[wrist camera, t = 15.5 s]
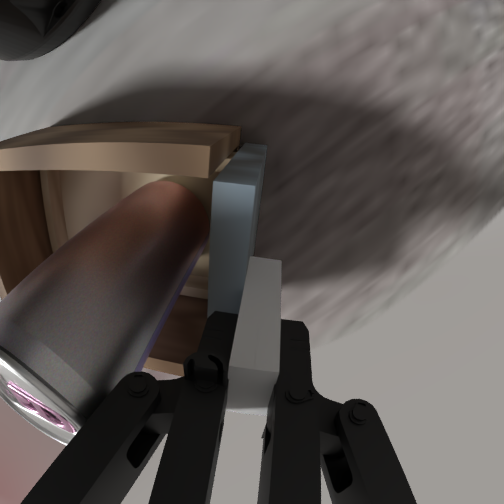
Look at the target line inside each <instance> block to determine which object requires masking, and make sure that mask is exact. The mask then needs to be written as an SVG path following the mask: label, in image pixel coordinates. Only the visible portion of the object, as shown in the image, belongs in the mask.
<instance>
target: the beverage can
mask: <svg viewBox="0 0 504 504" xmlns="http://www.w3.org/2000/svg"><path fill="white" fill-rule="evenodd" d="M209 231H210V228H209V220H208V216H207V213H206V211H205V208H204V207H203V205H202V203H201V202H200V201H199V199H198V198H197V197H196V196H195V195H194V194H193V193H192V192H191V191H189V190H188V189H187V188H185V187H183V186H181V185H179V184H177V183H174V182H170V181H154V182H150V183H147V184H145V185H143V186H142V187H140V188H139V189H137V190H136V191H134V192H133V193H131V194H130V195H129V196H127V197H126V198H124V199H123V200H121V201H120V202H119V203H117V204H116V205H114V206H113V207H112V208H110V209H109V210H107V211H106V212H105V213H103V214H102V215H101V216H99V217H98V218H97V219H95V220H94V221H93V222H91V223H90V224H89V225H87V226H86V227H85V228H84V229H82V230H81V231H80V232H78V233H77V234H76V235H75V236H73V237H72V238H71V239H70V240H68V241H67V242H66V243H65V244H64V245H62V246H61V247H60V248H59V249H58V250H56V251H55V252H54V253H53V254H52V255H50V256H49V257H48V258H47V259H46V260H45V261H43V262H42V263H41V264H40V265H39V266H38V267H37V268H36V269H34V270H33V271H32V272H31V273H30V274H29V275H28V276H27V277H26V278H24V279H23V280H22V281H21V282H20V283H19V284H18V285H17V286H16V287H15V288H14V289H13V290H12V291H11V292H10V293H9V294H8V295H7V296H6V297H5V298H4V299H3V300H2V301H1V302H0V397H1V398H2V399H3V400H4V401H5V402H6V403H7V404H8V405H9V406H10V407H11V408H12V409H13V410H14V411H15V412H17V413H18V414H19V415H20V416H21V417H23V418H24V419H25V420H26V421H28V422H29V423H30V424H32V425H33V426H34V427H36V428H37V429H38V430H40V431H41V432H43V433H45V434H46V435H48V436H49V437H51V438H53V439H54V440H56V441H58V442H60V443H62V444H64V445H66V446H67V444H68V443H69V442H70V441H71V439H72V438H73V437H74V436H75V435H76V433H77V432H78V431H79V430H80V428H81V427H82V426H83V425H84V424H85V422H86V421H87V420H88V419H89V417H90V416H91V415H92V414H93V413H94V411H95V410H96V409H97V408H98V407H99V405H100V404H101V403H102V402H103V400H104V399H105V398H106V397H107V396H108V394H109V393H110V392H111V391H112V390H113V388H114V387H115V386H116V385H117V384H118V382H119V381H120V380H121V379H122V378H123V377H124V376H126V375H127V374H129V373H132V372H141V371H142V368H143V366H144V364H145V362H146V360H147V358H148V356H149V354H150V352H151V350H152V348H153V346H154V344H155V342H156V340H157V338H158V336H159V334H160V332H161V330H162V328H163V326H164V324H165V322H166V320H167V318H168V316H169V314H170V312H171V310H172V308H173V306H174V304H175V303H176V301H177V299H178V297H179V295H180V293H181V291H182V289H183V287H184V285H185V283H186V282H187V280H188V278H189V276H190V274H191V272H192V270H193V268H194V267H195V265H196V263H197V261H198V259H199V257H200V255H201V254H202V252H203V250H204V248H205V246H206V244H207V242H208V238H209Z"/></svg>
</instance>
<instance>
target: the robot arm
mask: <svg viewBox="0 0 504 504" xmlns="http://www.w3.org/2000/svg"><path fill="white" fill-rule="evenodd" d="M100 1H101V0H0V60H5V61H18V60H31V59H34V58H37V57H40V56H42V55H44V54H46V53H48V52H50V51H51V50H53V49H54V48H56V47H57V46H59V45H60V44H61V43H62V42H64V41H65V40H66V39H67V38H68V37H69V36H70V35H71V34H73V33H74V32H75V31H76V30H77V29H78V28H79V27H80V25H81V24H82V23H83V22H84V21H85V20H86V19H87V18H88V16H89V15H90V14H91V13H92V12H93V10H94V9H95V8H96V6H97V5H98V3H99V2H100ZM281 277H282V260H276V259H268V258H261V257H254V256H250V259H249V264H248V269H247V274H246V280H245V285H244V290H243V295H242V300H241V305H240V310H239V314H233V313H227V312H220V311H214V312H213V313H212V314H211V315H210V316H209V317H208V318H207V321H206V324H205V327H204V331H203V334H202V338H201V340H200V343H199V347H198V350H197V352H195V353H192V354H191V355H190V356H188V357H187V358H186V359H185V361H184V363H183V369H184V376H183V377H180V378H178V379H173V380H158V381H157V380H156V379H155V377H153V376H152V375H150V374H149V373H145V372H132V373H129V374H127V375H126V376H124V377H123V378H122V379H121V380H120V381H119V382H118V384H117V385H116V386H115V387H114V388H113V390H112V391H111V392H110V393H109V394H108V396H107V397H106V398H105V399H104V400H103V402H102V403H101V404H100V405H99V407H98V408H97V409H96V410H95V411H94V413H93V414H92V415H91V416H90V417H89V419H88V420H87V421H86V422H85V424H84V425H83V426H82V427H81V428H80V430H79V431H78V432H77V433H76V435H75V436H74V437H73V438H72V439H71V441H70V442H69V443H68V444H67V446H66V447H65V448H64V449H63V451H62V452H61V453H60V454H59V456H58V457H57V458H56V459H55V461H54V462H53V463H52V464H51V466H50V467H49V468H48V469H47V471H46V472H45V473H44V474H43V476H42V477H41V478H40V480H39V481H38V482H37V483H36V485H35V486H34V487H33V488H32V490H31V491H30V492H29V493H28V495H27V496H26V497H25V499H24V500H23V501H22V503H21V504H121V502H122V500H123V499H124V497H125V496H126V494H127V493H128V492H129V490H130V488H131V487H132V486H133V484H134V482H135V481H136V479H137V478H138V476H139V475H140V473H141V471H142V470H143V469H144V467H145V466H146V464H147V463H148V461H149V460H150V458H151V456H152V455H153V453H154V452H155V450H156V449H157V447H158V445H159V444H160V442H161V441H162V439H163V438H164V436H165V435H166V434H168V437H167V440H166V443H165V446H164V450H163V453H162V457H161V461H160V464H159V468H158V471H157V475H156V478H155V482H154V485H153V489H152V493H151V496H150V500H149V504H210V499H211V493H212V487H213V482H214V476H215V471H216V465H217V459H218V454H219V448H220V442H221V437H222V431H223V425H224V415H225V411H231V412H238V413H245V414H253V415H262V416H266V415H267V423H266V426H265V429H264V432H263V435H262V438H264V439H263V450H262V461H261V472H260V483H259V492H258V502H257V504H321V468H322V471H323V475H324V478H325V481H326V485H327V488H328V491H329V494H330V498H331V501H332V504H417V503H416V500H415V498H414V496H413V494H412V491H411V488H410V486H409V484H408V481H407V479H406V476H405V474H404V471H403V469H402V467H401V464H400V462H399V460H398V458H397V455H396V453H395V451H394V449H393V446H392V444H391V442H390V440H389V437H388V435H387V433H386V431H385V429H384V426H383V424H382V422H381V420H380V417H379V416H378V413H377V411H376V410H375V408H374V407H373V405H371V404H370V403H368V402H367V401H365V400H361V399H351V400H349V401H346V402H345V403H344V404H341V403H338V402H335V401H332V400H329V399H327V398H324V397H323V396H322V395H320V394H319V393H318V392H317V391H316V390H315V388H314V386H313V383H312V371H311V356H310V343H309V331H308V329H307V328H306V326H305V324H304V323H303V322H301V321H292V320H284V319H281Z"/></svg>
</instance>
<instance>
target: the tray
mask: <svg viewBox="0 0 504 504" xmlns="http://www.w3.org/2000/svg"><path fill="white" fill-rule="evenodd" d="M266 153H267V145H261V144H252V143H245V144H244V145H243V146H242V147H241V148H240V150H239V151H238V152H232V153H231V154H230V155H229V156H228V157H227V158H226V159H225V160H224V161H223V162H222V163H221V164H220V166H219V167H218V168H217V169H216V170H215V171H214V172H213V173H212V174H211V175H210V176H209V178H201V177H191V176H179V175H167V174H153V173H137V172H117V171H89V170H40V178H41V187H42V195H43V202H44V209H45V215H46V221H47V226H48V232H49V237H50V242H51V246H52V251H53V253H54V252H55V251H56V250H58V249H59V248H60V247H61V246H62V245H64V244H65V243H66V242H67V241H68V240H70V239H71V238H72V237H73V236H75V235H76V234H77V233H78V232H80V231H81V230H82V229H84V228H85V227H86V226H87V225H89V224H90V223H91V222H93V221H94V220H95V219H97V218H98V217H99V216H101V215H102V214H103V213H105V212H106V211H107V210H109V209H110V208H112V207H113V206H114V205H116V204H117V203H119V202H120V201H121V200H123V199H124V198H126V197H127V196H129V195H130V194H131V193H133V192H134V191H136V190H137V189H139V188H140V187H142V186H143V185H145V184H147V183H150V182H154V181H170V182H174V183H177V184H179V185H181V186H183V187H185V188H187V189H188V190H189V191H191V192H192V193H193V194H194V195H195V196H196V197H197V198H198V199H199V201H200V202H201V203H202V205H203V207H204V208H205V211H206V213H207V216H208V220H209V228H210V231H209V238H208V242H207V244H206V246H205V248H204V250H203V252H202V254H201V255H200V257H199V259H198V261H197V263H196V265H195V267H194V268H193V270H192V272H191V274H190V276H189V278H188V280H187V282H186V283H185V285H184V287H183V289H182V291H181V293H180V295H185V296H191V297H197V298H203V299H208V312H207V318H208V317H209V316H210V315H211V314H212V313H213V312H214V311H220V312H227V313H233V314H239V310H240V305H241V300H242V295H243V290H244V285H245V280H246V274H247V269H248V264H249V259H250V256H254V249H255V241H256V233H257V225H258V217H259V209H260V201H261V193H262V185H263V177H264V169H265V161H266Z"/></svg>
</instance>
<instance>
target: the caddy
mask: <svg viewBox="0 0 504 504" xmlns="http://www.w3.org/2000/svg"><path fill="white" fill-rule="evenodd" d="M240 136H241V126H231V125H219V124H205V123H185V122H108V123H89V124H75V125H64V126H54V127H48V128H44V129H40V130H36V131H33V132H29V133H26V134H23V135H19V136H16V137H13V138H10V139H7V140H4V141H1V142H0V297H1V300H3V299H4V298H5V297H6V296H7V295H8V294H9V293H10V292H11V291H12V290H13V289H14V288H15V287H16V286H17V285H18V284H19V283H20V282H21V281H22V280H23V279H24V278H26V277H27V276H28V275H29V274H30V273H31V272H32V271H33V270H34V269H36V268H37V267H38V266H39V265H40V264H41V263H42V262H43V261H45V260H46V259H47V258H48V257H49V256H50V255H52V254H53V251H52V246H51V242H50V237H49V232H48V226H47V221H46V215H45V209H44V202H43V195H42V187H41V178H40V170H89V171H117V172H137V173H153V174H167V175H179V176H191V177H201V178H209V176H210V175H211V174H212V173H213V172H214V171H215V170H216V169H217V168H218V167H219V166H220V164H221V163H222V162H223V161H224V160H225V159H226V158H227V157H228V156H229V155H230V154H231V153H232V152H238V151H239V145H240ZM207 312H208V299H203V298H197V297H191V296H185V295H179V297H178V299H177V301H176V303H175V304H174V306H173V308H172V310H171V312H170V314H169V316H168V318H167V320H166V322H165V324H164V326H163V328H162V330H161V332H160V334H159V336H158V338H157V340H156V342H155V344H154V346H153V348H152V350H151V352H150V354H149V356H148V358H147V360H146V362H145V364H144V366H143V367H144V368H148V369H152V370H156V371H160V372H164V373H169V374H173V375H178V376H184V369H183V363H184V361H185V359H186V358H187V357H188V356H190V355H191V354H192V353H195V352H197V350H198V347H199V343H200V340H201V338H202V334H203V331H204V327H205V324H206V321H207Z"/></svg>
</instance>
